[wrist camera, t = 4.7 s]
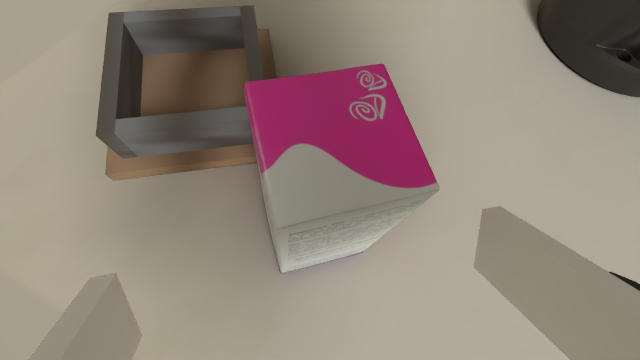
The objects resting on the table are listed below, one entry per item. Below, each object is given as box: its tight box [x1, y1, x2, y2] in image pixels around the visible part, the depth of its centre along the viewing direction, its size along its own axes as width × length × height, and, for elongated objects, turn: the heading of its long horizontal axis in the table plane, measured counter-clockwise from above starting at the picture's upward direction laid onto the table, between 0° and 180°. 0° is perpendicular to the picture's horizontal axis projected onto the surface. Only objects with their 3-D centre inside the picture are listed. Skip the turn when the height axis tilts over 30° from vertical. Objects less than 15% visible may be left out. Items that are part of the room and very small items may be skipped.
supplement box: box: [244, 64, 439, 273], centre depth 15 cm, size 6×6×12 cm
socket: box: [96, 5, 276, 180], centre depth 22 cm, size 12×12×4 cm
